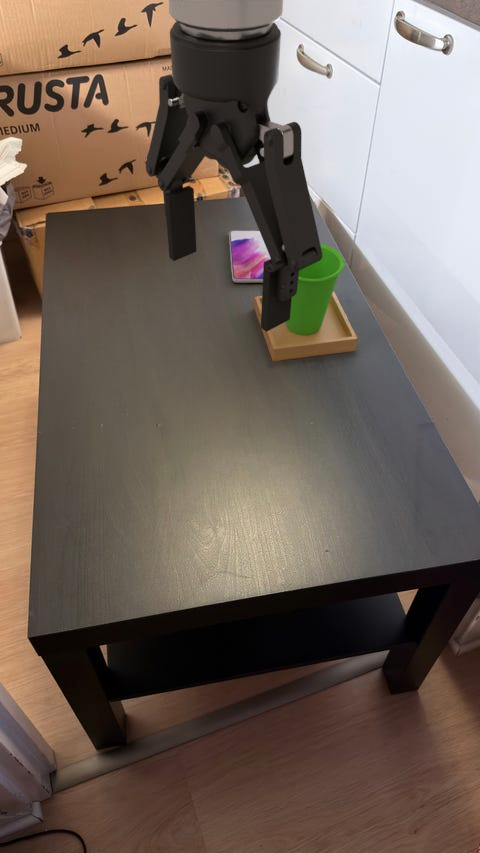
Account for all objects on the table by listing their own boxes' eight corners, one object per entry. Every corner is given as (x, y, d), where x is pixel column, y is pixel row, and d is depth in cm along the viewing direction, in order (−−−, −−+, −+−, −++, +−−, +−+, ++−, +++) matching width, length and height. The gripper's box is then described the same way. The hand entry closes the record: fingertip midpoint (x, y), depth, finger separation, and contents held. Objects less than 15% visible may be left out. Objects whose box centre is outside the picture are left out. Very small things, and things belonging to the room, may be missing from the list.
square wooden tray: (355, 350, 89) (357, 338, 87) (272, 361, 87) (273, 349, 86) (330, 300, 97) (332, 287, 95) (254, 308, 95) (254, 296, 94)
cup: (278, 302, 95) (282, 238, 87) (337, 310, 94) (347, 246, 86) (267, 340, 89) (271, 275, 81) (331, 349, 88) (341, 283, 80)
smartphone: (269, 229, 109) (277, 279, 99) (269, 234, 110) (277, 284, 100) (228, 229, 109) (232, 279, 99) (228, 234, 109) (232, 284, 99)
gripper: (81, -11, 46) (119, 242, 62) (314, 91, 34) (287, 377, 49) (164, -26, 50) (180, 218, 65) (405, 62, 37) (353, 339, 53)
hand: (226, 287), depth 57 cm, fingers open, 13 cm apart
